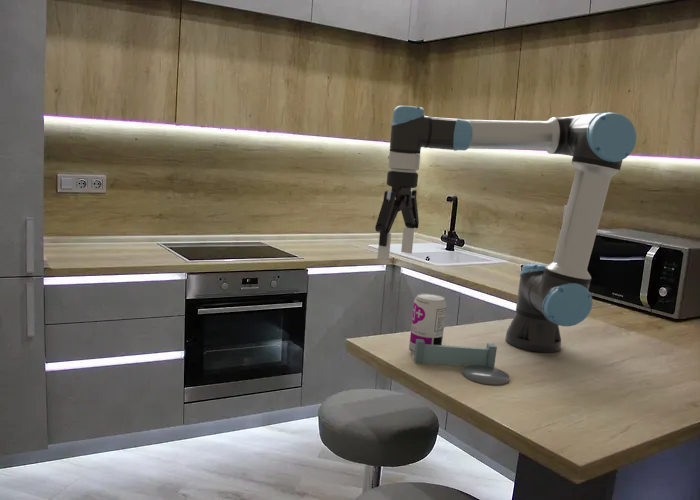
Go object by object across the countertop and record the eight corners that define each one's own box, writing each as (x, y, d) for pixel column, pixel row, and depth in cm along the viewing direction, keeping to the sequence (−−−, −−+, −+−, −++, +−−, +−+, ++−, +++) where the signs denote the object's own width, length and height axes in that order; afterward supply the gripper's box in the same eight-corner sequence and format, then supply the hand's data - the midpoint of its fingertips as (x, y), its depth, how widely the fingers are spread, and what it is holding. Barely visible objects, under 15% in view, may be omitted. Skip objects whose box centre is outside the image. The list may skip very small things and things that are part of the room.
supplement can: (415, 359, 161) (422, 300, 158) (404, 348, 168) (410, 292, 166) (445, 358, 163) (452, 301, 160) (432, 348, 171) (439, 293, 168)
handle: (491, 364, 161) (494, 343, 160) (494, 368, 159) (496, 346, 158) (413, 360, 159) (416, 338, 159) (415, 363, 157) (417, 342, 156)
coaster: (500, 369, 159) (501, 366, 159) (515, 386, 148) (515, 383, 148) (457, 366, 158) (457, 364, 158) (468, 383, 147) (469, 381, 147)
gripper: (410, 169, 170) (402, 248, 173) (365, 169, 148) (358, 259, 152) (436, 171, 166) (428, 252, 170) (395, 172, 145) (386, 264, 148)
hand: (395, 256), depth 161 cm, fingers open, 13 cm apart
